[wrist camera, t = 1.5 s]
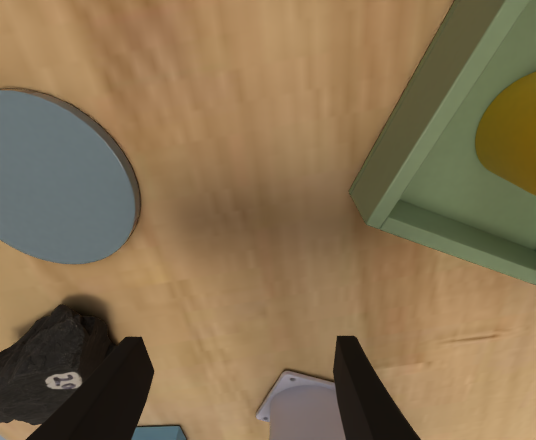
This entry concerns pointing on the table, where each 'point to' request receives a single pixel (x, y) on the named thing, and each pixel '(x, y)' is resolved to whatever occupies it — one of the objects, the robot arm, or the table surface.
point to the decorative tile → (158, 433)
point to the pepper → (511, 134)
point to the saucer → (61, 182)
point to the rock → (50, 364)
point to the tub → (456, 145)
